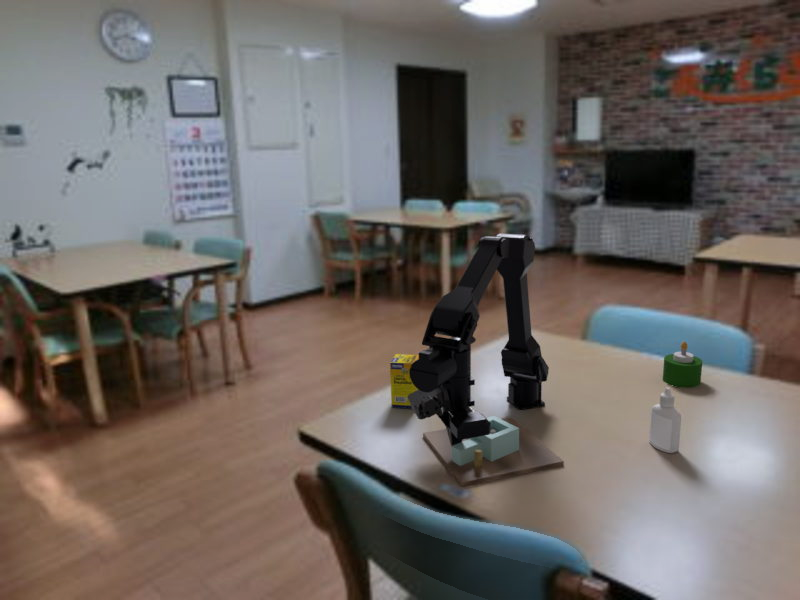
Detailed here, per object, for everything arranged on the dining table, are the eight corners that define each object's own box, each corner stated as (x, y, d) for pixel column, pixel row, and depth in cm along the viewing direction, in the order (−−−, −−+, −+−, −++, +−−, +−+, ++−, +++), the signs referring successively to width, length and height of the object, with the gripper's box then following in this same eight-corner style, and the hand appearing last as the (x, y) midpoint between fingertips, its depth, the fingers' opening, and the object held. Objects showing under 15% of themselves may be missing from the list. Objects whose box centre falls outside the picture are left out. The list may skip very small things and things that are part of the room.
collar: (493, 436, 122) (493, 415, 121) (518, 449, 116) (519, 428, 115) (444, 455, 115) (443, 434, 114) (468, 471, 110) (468, 448, 108)
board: (512, 420, 130) (512, 402, 129) (563, 465, 112) (564, 445, 111) (423, 436, 125) (422, 418, 124) (461, 486, 106) (461, 465, 105)
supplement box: (417, 409, 138) (415, 363, 135) (391, 408, 139) (389, 362, 136) (421, 398, 143) (420, 354, 141) (396, 397, 145) (394, 353, 142)
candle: (702, 378, 149) (706, 339, 146) (697, 390, 142) (701, 349, 139) (666, 372, 153) (668, 334, 150) (659, 384, 146) (662, 344, 144)
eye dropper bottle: (656, 454, 114) (660, 394, 111) (647, 440, 120) (651, 382, 117) (680, 454, 114) (685, 394, 111) (670, 440, 119) (674, 382, 116)
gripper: (396, 359, 117) (399, 433, 121) (429, 399, 100) (431, 484, 104) (451, 351, 120) (452, 423, 124) (492, 389, 103) (491, 472, 107)
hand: (454, 448), depth 115 cm, fingers closed
